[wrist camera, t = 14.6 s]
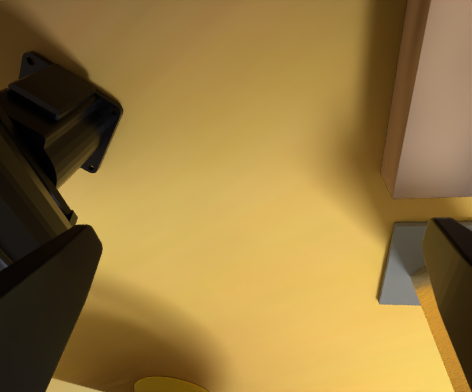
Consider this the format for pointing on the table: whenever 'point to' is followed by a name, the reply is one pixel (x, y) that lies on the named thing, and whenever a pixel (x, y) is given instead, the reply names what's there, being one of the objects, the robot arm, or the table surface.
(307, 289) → the table surface
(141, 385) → the slatted pedestal fruit bowl
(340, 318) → the table surface
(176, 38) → the table surface
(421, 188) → the two-hole peg block
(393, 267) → the slate mat
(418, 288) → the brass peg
